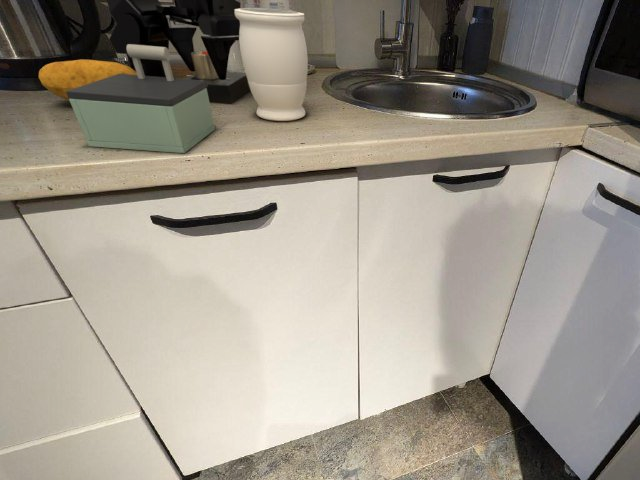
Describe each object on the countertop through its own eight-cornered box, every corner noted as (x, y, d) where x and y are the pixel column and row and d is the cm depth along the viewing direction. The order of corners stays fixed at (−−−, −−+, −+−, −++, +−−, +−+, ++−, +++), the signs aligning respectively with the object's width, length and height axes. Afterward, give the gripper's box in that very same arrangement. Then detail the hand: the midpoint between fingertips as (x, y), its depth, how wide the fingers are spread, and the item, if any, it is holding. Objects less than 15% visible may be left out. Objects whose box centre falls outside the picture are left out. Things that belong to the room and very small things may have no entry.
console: (204, 85, 82) (200, 68, 80) (251, 89, 83) (248, 72, 81) (179, 99, 73) (174, 80, 71) (231, 103, 73) (227, 84, 71)
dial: (191, 78, 74) (185, 51, 71) (205, 74, 77) (199, 48, 74) (210, 80, 73) (205, 53, 71) (223, 77, 76) (218, 51, 74)
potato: (143, 110, 66) (129, 64, 62) (45, 111, 62) (22, 61, 58) (150, 98, 72) (137, 55, 68) (60, 98, 68) (41, 53, 64)
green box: (133, 122, 61) (118, 80, 57) (215, 129, 61) (206, 87, 58) (88, 146, 52) (68, 98, 49) (184, 153, 53) (171, 106, 49)
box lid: (121, 79, 58) (107, 40, 55) (208, 86, 58) (199, 47, 55) (68, 98, 49) (48, 52, 46) (171, 106, 49) (159, 61, 46)
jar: (272, 104, 75) (259, 6, 65) (321, 112, 73) (316, 12, 63) (237, 117, 67) (218, 8, 57) (292, 127, 65) (281, 15, 55)
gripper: (262, -25, 66) (274, 79, 76) (196, -32, 74) (215, 63, 84) (202, -29, 59) (224, 86, 69) (136, -37, 67) (164, 68, 77)
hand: (207, 75), depth 75 cm, fingers open, 9 cm apart
